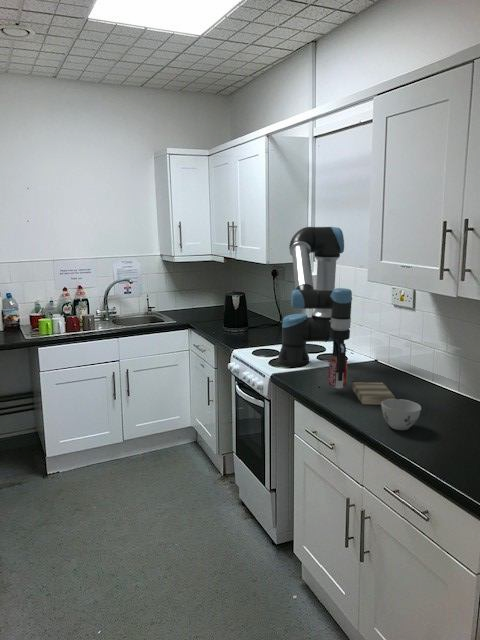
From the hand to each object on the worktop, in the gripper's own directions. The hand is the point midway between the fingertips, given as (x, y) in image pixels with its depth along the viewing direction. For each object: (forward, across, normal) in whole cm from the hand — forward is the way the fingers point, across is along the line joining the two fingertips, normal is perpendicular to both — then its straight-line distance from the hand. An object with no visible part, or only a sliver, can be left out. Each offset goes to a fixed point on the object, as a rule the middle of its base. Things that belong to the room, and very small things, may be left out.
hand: (337, 384), depth 199 cm
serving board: (+3, +5, +13) cm, 14 cm away
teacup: (+3, +33, +14) cm, 36 cm away
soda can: (+1, 0, 0) cm, 1 cm away
